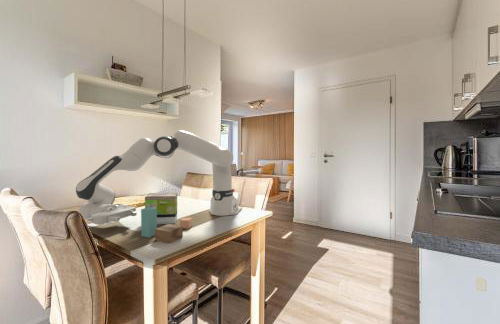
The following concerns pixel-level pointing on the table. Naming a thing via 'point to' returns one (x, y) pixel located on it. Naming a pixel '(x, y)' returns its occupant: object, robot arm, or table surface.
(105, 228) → the table surface
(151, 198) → the tea box
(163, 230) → the walnut base block
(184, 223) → the terracotta block
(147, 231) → the teal block
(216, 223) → the table surface
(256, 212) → the table surface
